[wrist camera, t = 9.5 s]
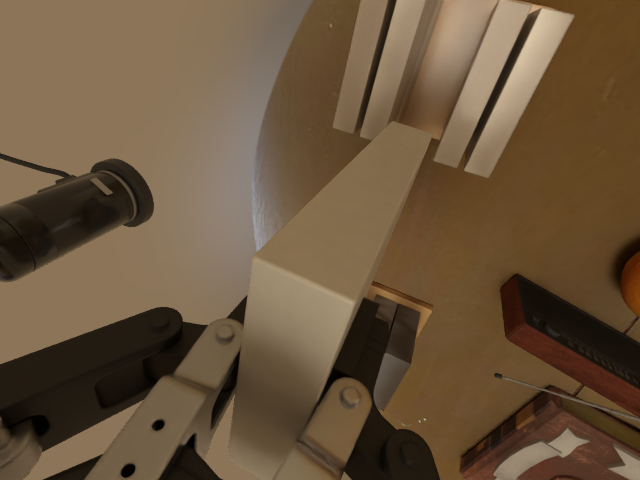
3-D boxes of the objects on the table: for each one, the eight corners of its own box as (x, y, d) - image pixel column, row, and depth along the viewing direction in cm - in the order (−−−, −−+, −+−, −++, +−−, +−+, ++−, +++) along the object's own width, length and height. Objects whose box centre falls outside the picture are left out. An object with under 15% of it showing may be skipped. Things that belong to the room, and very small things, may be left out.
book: (549, 378, 45) (553, 409, 41) (678, 448, 41) (695, 490, 37) (461, 451, 58) (458, 480, 54) (553, 509, 55) (556, 544, 51)
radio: (656, 348, 37) (744, 497, 25) (631, 362, 39) (702, 508, 27) (502, 261, 39) (515, 361, 27) (484, 278, 40) (489, 380, 28)
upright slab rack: (353, 111, 37) (313, 134, 28) (388, -27, 30) (350, -57, 21) (483, 151, 34) (487, 193, 25) (554, 9, 27) (595, -6, 18)
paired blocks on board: (296, 312, 55) (266, 358, 47) (310, 255, 48) (277, 297, 40) (402, 360, 52) (389, 419, 44) (433, 305, 45) (424, 363, 37)
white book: (346, 256, 25) (225, 459, 13) (392, 120, 19) (250, 256, 7) (377, 269, 24) (282, 493, 12) (433, 133, 19) (356, 303, 7)
